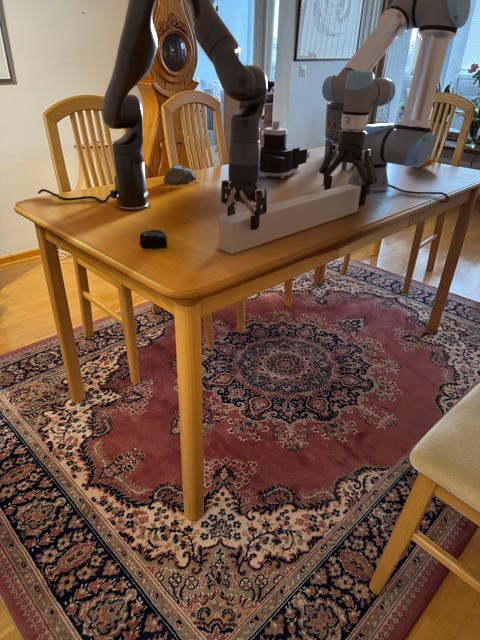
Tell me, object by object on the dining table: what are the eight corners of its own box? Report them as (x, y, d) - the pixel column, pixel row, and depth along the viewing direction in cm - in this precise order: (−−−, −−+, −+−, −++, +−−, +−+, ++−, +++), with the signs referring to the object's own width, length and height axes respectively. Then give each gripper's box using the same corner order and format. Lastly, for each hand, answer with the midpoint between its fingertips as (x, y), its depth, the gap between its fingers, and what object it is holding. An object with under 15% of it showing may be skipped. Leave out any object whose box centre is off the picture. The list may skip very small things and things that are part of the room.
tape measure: (140, 252, 115) (139, 238, 113) (141, 242, 120) (140, 229, 119) (167, 251, 116) (166, 237, 114) (167, 241, 121) (166, 228, 120)
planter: (313, 167, 208) (319, 103, 195) (331, 160, 222) (338, 101, 209) (353, 173, 199) (362, 107, 185) (369, 166, 213) (379, 104, 199)
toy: (409, 160, 208) (403, 153, 221) (411, 174, 211) (405, 166, 224) (434, 152, 205) (427, 146, 218) (436, 166, 208) (429, 159, 221)
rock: (189, 177, 184) (188, 161, 181) (201, 182, 179) (201, 165, 176) (161, 182, 177) (159, 165, 173) (173, 187, 171) (172, 170, 168)
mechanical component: (240, 120, 182) (283, 115, 202) (239, 174, 192) (280, 164, 212) (283, 126, 170) (325, 120, 190) (280, 183, 180) (320, 171, 200)
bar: (344, 208, 152) (347, 183, 148) (357, 211, 149) (361, 186, 145) (219, 248, 118) (218, 218, 114) (232, 254, 115) (232, 223, 111)
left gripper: (213, 157, 111) (213, 221, 119) (254, 167, 102) (251, 235, 111) (235, 154, 116) (234, 216, 124) (276, 163, 107) (272, 229, 115)
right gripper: (312, 126, 140) (306, 195, 151) (383, 136, 125) (371, 212, 136) (327, 124, 145) (319, 191, 155) (397, 133, 129) (384, 207, 140)
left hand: (242, 225), depth 117 cm, fingers open, 8 cm apart
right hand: (343, 201), depth 146 cm, fingers open, 13 cm apart
